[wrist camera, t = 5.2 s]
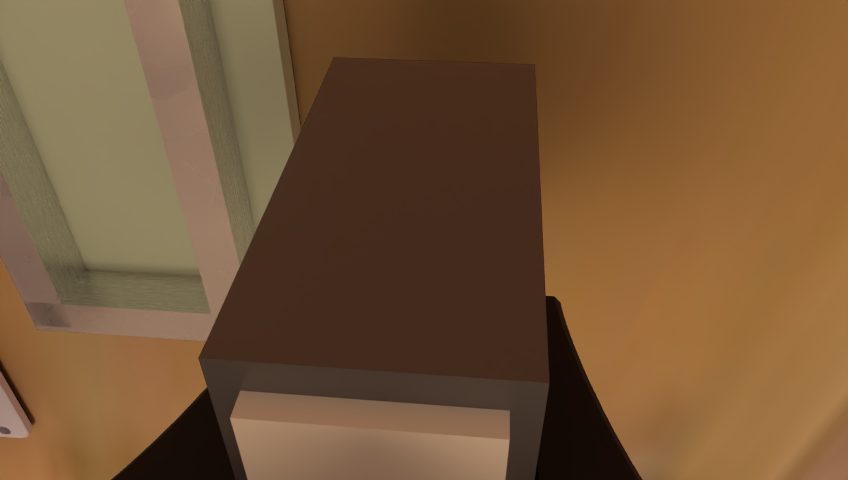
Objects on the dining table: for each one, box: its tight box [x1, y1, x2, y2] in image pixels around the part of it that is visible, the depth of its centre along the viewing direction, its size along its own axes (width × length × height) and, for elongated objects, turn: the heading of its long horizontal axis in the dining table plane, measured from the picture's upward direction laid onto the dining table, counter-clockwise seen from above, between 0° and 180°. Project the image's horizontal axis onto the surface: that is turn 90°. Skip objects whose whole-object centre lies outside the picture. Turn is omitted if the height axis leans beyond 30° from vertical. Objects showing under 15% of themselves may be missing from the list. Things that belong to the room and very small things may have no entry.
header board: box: [0, 0, 301, 341], centre depth 18 cm, size 10×18×2 cm, turn 1°
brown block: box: [199, 57, 549, 480], centre depth 11 cm, size 3×8×6 cm, turn 0°
